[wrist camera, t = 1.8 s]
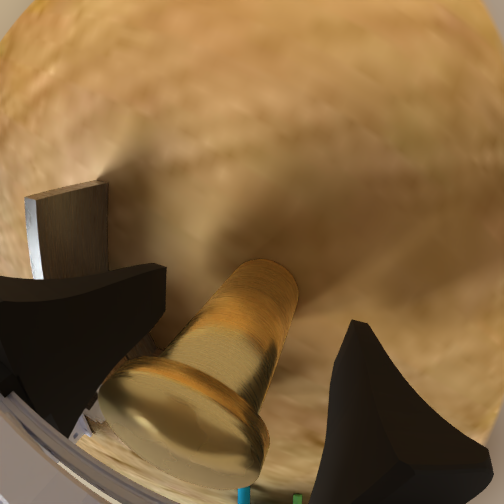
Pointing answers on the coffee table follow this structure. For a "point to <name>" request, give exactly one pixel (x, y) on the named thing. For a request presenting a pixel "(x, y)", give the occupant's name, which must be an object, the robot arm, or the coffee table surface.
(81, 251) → the hinge
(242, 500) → the gear
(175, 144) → the coffee table surface
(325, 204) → the coffee table surface
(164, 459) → the hinge pin
